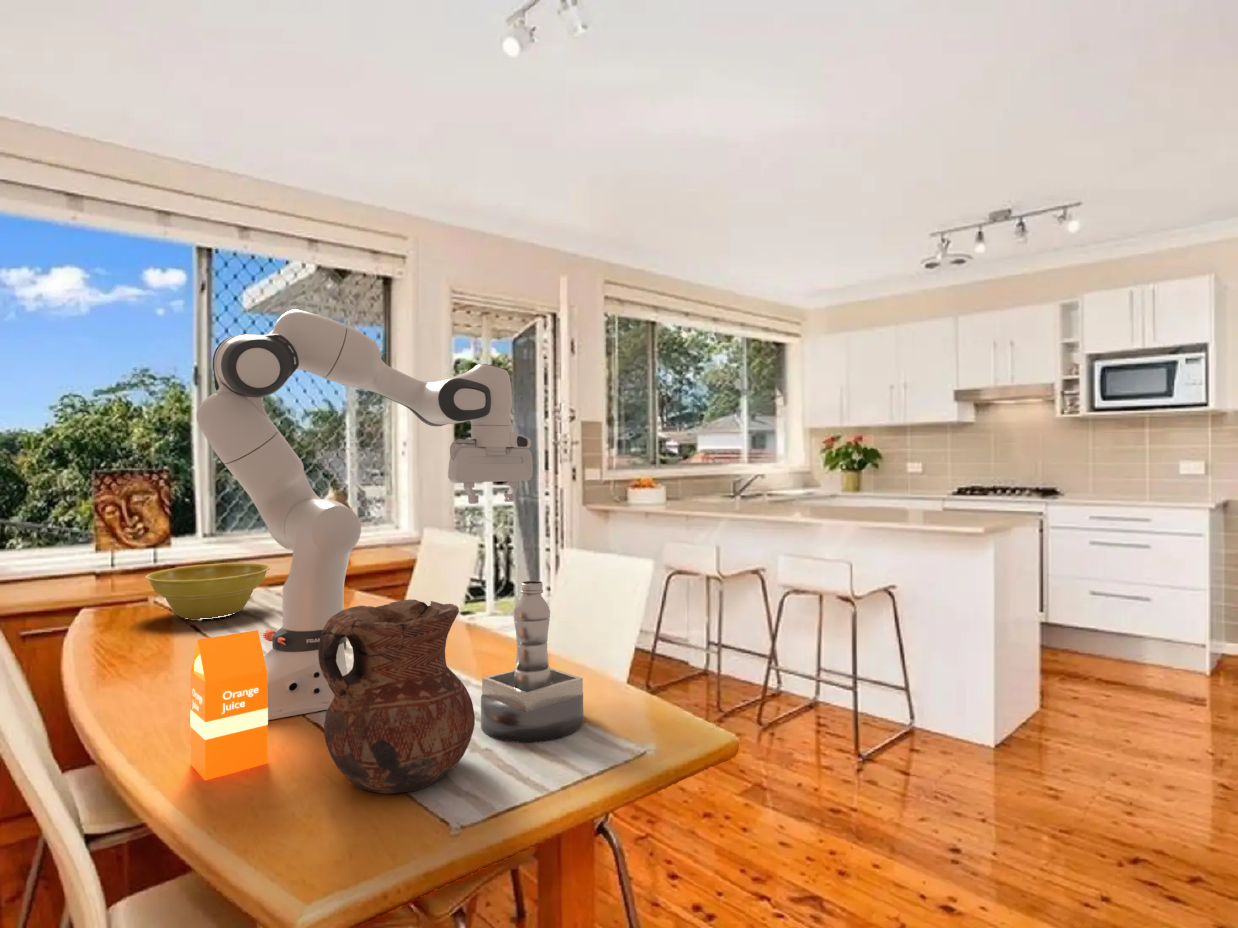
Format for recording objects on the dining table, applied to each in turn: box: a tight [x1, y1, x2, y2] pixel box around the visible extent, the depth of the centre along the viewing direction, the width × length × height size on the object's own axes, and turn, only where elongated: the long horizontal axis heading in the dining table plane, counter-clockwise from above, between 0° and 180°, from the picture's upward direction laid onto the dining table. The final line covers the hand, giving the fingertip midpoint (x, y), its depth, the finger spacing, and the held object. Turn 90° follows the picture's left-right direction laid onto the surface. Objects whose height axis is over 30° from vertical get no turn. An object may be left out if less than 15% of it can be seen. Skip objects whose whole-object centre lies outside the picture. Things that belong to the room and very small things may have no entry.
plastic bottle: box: [512, 580, 551, 692], centre depth 131 cm, size 6×7×20 cm
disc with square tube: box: [480, 667, 584, 744], centre depth 132 cm, size 18×20×8 cm
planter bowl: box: [144, 562, 271, 619], centre depth 217 cm, size 32×32×13 cm
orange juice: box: [189, 629, 269, 781], centre depth 113 cm, size 8×9×20 cm
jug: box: [318, 599, 476, 794], centre depth 110 cm, size 22×21×25 cm
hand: (491, 502), depth 162 cm, fingers open, 8 cm apart
